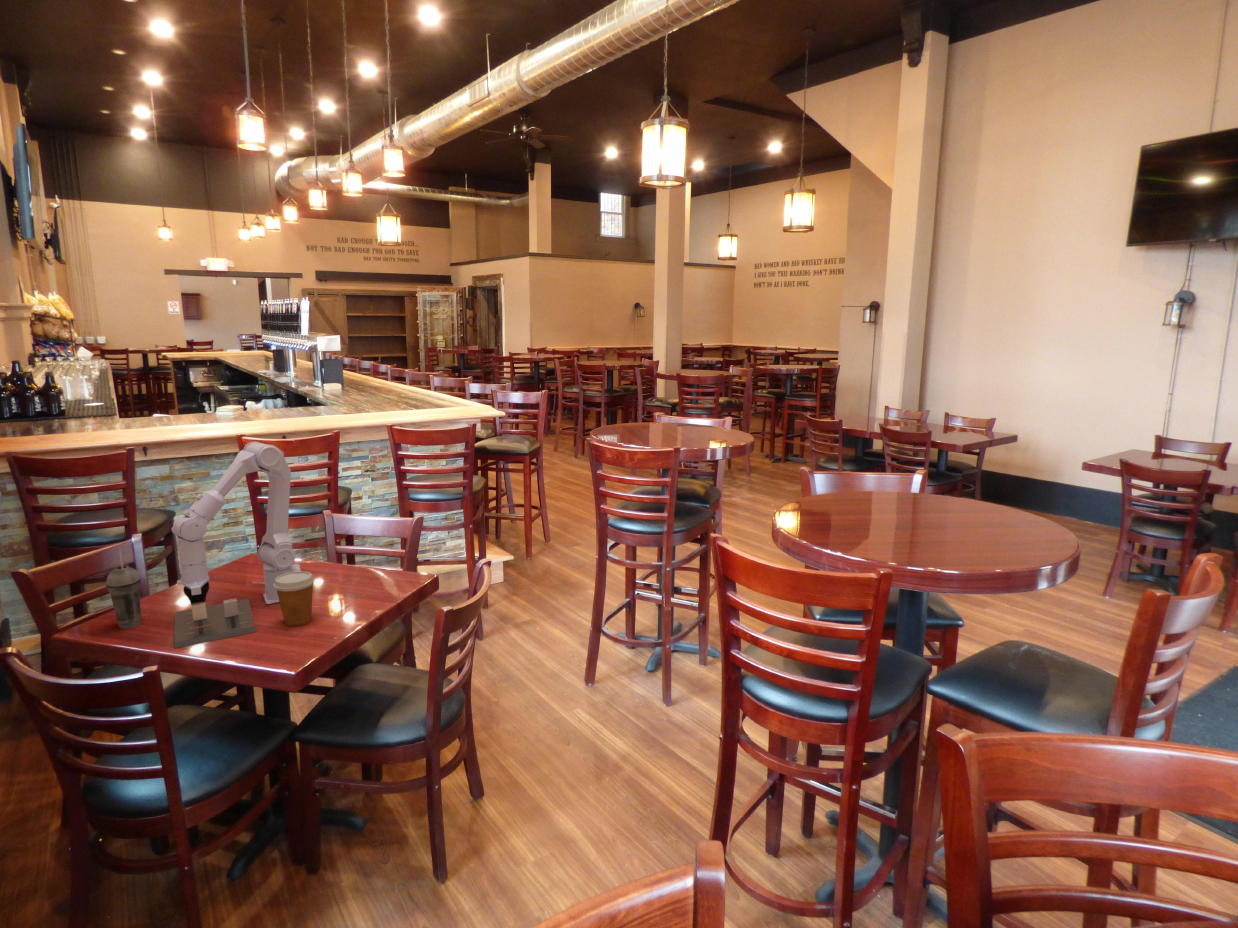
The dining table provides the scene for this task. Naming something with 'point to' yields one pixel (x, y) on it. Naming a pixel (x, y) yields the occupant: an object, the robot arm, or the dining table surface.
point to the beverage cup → (125, 595)
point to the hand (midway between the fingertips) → (199, 612)
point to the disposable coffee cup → (295, 597)
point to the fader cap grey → (230, 607)
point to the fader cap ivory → (199, 611)
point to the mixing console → (212, 624)
